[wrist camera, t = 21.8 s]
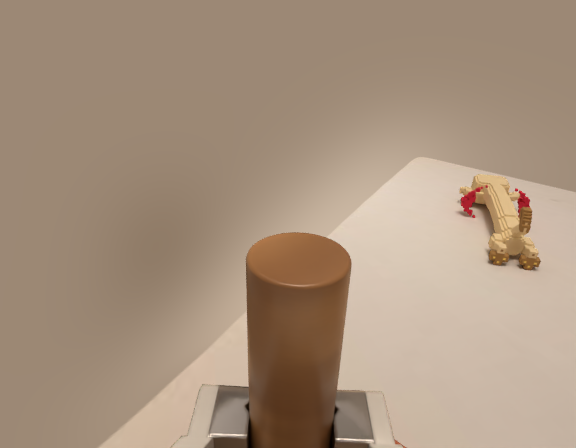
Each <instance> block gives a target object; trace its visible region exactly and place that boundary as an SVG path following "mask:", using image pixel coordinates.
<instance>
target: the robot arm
mask: <svg viewBox="0 0 576 448" xmlns="http://www.w3.org/2000/svg"><path fill="white" fill-rule="evenodd" d="M170 448H250V415H249V387H240V386H225V385H205V384H202V386H201V388H200V390H199V393H198V397H197V401H196V405H195V408H194V412H193V416H192V419H191V423H190V427H189V430H188V434H187V436H181V437H180V438H179V439H178V440H177V441H176V442H175V443H174V444H173V445H172V446H171V447H170ZM330 448H403V446H402V445H399V444H395V440H394V436H393V432H392V427H391V423H390V419H389V415H388V410H387V406H386V402H385V398H384V394H383V393H382V392H380V391H360V390H337V394H336V402H335V411H334V418H333V425H332V434H331V444H330Z"/></svg>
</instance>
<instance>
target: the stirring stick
mask: <svg viewBox="0 0 576 448" xmlns="http://www.w3.org/2000/svg"><path fill="white" fill-rule="evenodd" d="M350 274H351V259H350V256H349V254H348V252H347V251H346V250H345V249H344V248H343V247H342V246H341V245H340V244H338V243H336V242H335V241H333V240H331V239H328V238H326V237H322V236H319V235H315V234H309V233H282V234H276V235H273V236H269V237H266V238H264V239H262V240H260V241H258V242H257V243H255V244H254V245H253V246H252V247H251V248H250V250H249V252H248V254H247V257H246V280H247V281H246V283H247V330H248V377H249V415H250V448H330V444H331V434H332V425H333V418H334V411H335V402H336V394H337V385H338V377H339V368H340V359H341V351H342V342H343V334H344V325H345V317H346V308H347V300H348V291H349V283H350Z"/></svg>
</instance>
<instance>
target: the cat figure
mask: <svg viewBox="0 0 576 448" xmlns="http://www.w3.org/2000/svg"><path fill="white" fill-rule="evenodd" d="M509 188H510V185H509V183H508V181H507V180H506V178H503V177H500V176H491V175H482V174H478V175H477V176H474V179H473V182H472V186H471V188H469V187H460V191H459V192H460V193H463V195H465V196H464V197H462V198H461V206H463V208H464V211H465V212H467V213H468V214H469V215H470V216H471V214H472V210H469V207H472V203H473V202H475V203H480V204H486V205H487V208H488V209H489V211H490V214H491V217H492V220H493V224H494V230H495V233H493V236H491V237H490V240H489V243H488V244H489V247H490V248H491V250H490V253H489V260H492V262H493V264H494V265H501V264H502V262H508V259H509V255H514V256H515V255H517V254H520V253H521V255H520V258H519V263H520V265H522V266H523V268H524V269H527V270H532V268H533V266H534V267H539V264H540V262H541V261H540V259H539V257H537V255H538V250H537V249H535V248H534V247H535V246H534V244H533V242H532V241H531V239H530V238H526V237H524V235H526V234H527V233H528V232H529V230H530V224H531V219H532V217H531V216H532V210H531V208H530V206H529V202H530V199H528V197H526V196H525V193H523V192H522V191H519V193H520V194H518V193H517V192H513V193H509V192H508V191H509ZM515 191H518V189H516V188H515ZM520 197H521V198H520ZM515 200H518V202H517V203H518V205H519V206H518V208H519V210H518V213H519V216H518V215H517V212H516V210H515V208H514V206H513V203H512V201H515ZM472 217H473V218H475V215H473V216H472ZM492 250H493V251H492Z"/></svg>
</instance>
